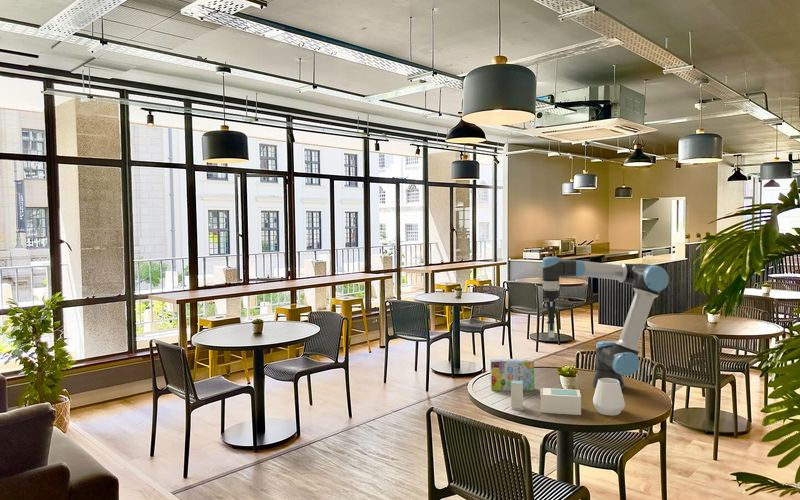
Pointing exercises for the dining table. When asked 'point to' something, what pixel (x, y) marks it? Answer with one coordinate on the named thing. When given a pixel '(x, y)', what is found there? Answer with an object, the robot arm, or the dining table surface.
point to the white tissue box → (560, 401)
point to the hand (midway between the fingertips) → (551, 334)
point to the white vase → (608, 397)
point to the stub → (516, 394)
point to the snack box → (511, 373)
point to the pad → (516, 408)
